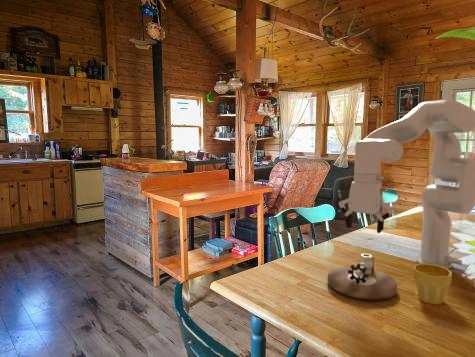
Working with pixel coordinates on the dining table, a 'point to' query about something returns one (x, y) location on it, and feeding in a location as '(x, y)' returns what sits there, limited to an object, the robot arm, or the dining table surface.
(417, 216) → the dining table surface
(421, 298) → the plant pot
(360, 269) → the valve
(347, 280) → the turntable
